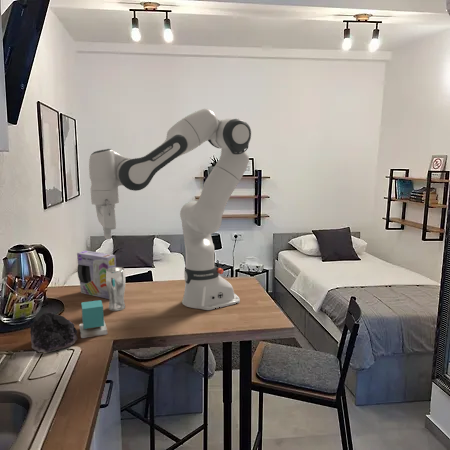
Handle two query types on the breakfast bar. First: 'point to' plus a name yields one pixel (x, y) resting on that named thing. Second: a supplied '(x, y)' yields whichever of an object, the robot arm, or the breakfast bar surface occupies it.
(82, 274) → the cake pan box
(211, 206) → the robot arm
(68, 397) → the breakfast bar surface
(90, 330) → the square base with post
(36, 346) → the dark grey rock
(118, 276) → the beer glass
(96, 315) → the turquoise cube
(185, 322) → the breakfast bar surface
